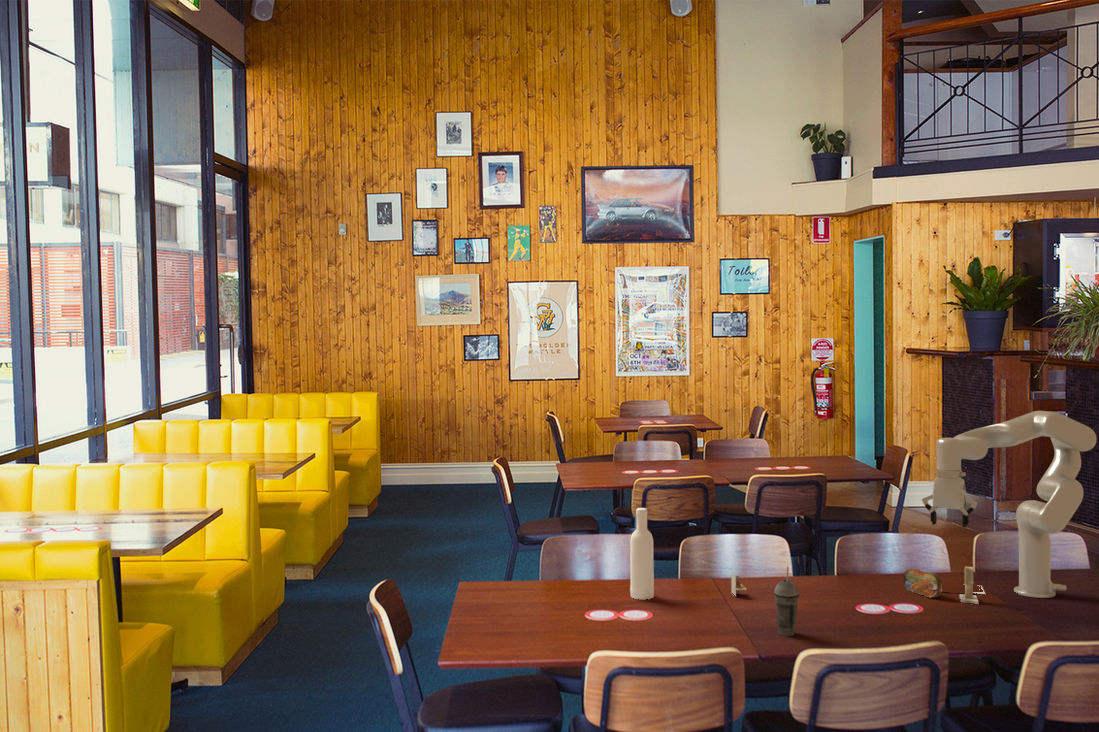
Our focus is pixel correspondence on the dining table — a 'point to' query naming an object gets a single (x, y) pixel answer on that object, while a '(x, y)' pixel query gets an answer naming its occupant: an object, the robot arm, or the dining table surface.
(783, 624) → the beverage cup
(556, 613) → the dining table surface
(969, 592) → the beige post on base
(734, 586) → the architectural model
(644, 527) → the bottle
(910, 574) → the tin
